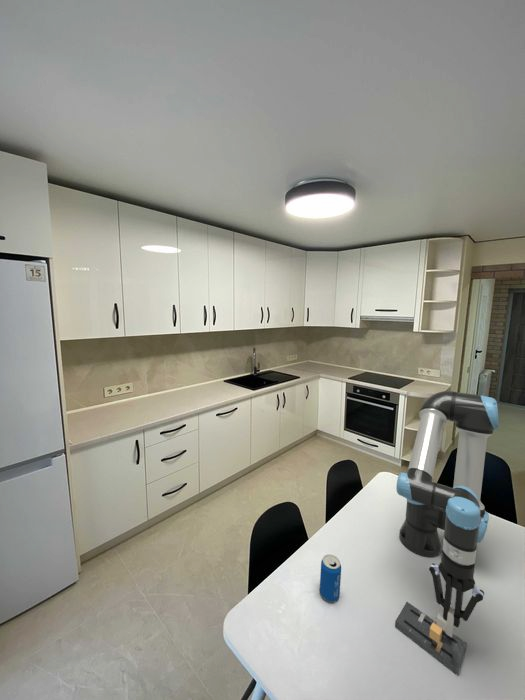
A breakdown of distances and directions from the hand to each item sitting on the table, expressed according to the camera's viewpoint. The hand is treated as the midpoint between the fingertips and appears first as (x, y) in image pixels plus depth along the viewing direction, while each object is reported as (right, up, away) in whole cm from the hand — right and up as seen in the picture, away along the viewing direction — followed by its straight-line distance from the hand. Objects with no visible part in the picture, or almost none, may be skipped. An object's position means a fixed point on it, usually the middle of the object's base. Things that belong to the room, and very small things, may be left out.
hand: (449, 632), depth 82 cm
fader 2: (-2, -1, +1) cm, 2 cm away
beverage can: (-31, -1, +14) cm, 34 cm away
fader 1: (-5, -1, -2) cm, 6 cm away
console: (-5, -3, +2) cm, 6 cm away
